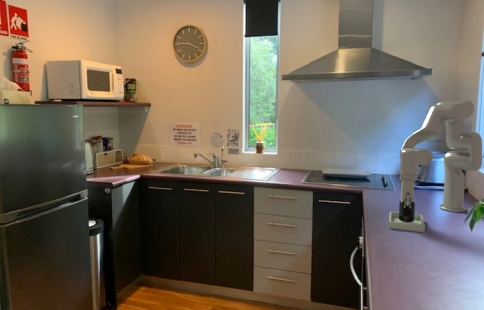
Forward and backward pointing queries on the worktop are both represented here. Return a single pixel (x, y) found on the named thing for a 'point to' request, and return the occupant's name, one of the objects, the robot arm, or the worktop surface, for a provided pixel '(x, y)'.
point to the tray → (406, 223)
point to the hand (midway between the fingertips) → (406, 213)
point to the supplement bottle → (406, 218)
